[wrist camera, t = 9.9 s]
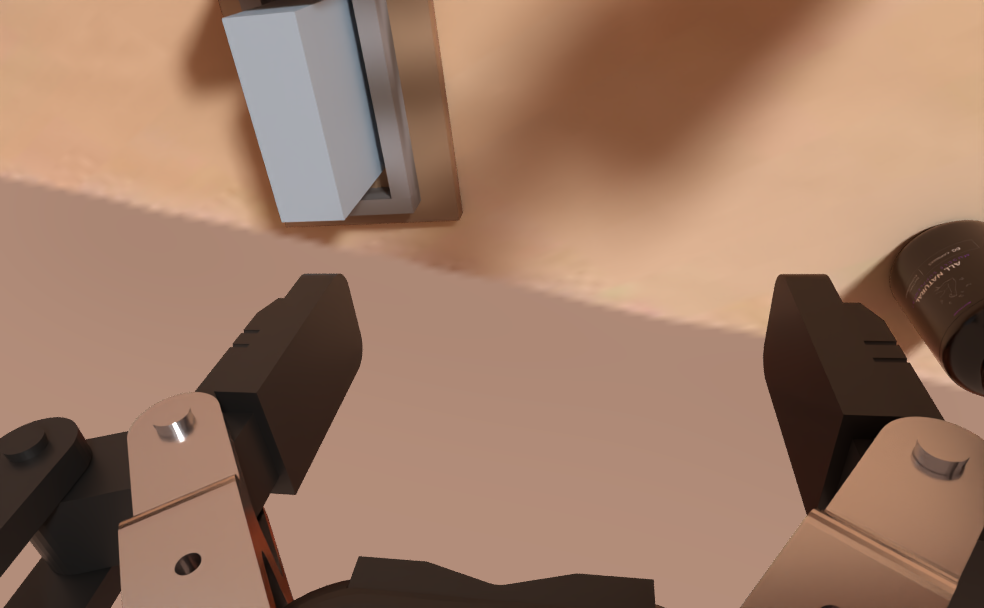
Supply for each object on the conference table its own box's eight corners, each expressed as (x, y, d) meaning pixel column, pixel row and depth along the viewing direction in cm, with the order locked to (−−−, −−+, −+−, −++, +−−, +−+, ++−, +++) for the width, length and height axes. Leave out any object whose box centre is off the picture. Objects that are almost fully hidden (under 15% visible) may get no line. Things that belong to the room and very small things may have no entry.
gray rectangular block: (292, -5, 36) (221, 18, 29) (352, -11, 35) (294, 11, 28) (333, 168, 41) (281, 222, 34) (386, 165, 40) (344, 220, 33)
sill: (205, -82, 35) (95, -76, 27) (417, -111, 33) (362, -112, 25) (293, 219, 45) (229, 287, 37) (462, 212, 42) (432, 283, 35)
